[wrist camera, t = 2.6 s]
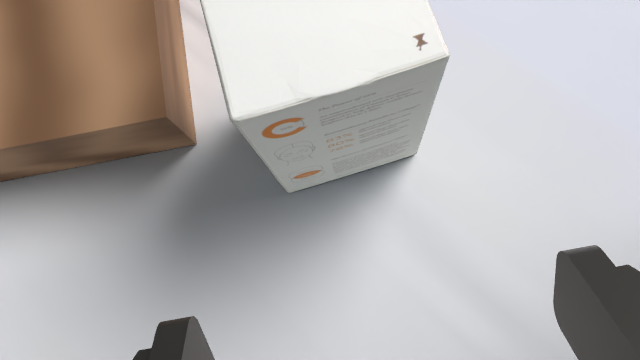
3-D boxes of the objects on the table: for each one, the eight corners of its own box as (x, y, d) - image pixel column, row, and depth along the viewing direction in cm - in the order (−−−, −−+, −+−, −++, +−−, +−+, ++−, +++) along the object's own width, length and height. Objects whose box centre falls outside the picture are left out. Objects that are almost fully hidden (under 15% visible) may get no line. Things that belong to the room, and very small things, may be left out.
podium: (173, -43, 35) (142, -97, 30) (196, 144, 32) (166, 116, 27) (-15, -4, 36) (-76, -51, 31) (-10, 183, 33) (-75, 163, 28)
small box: (385, 59, 32) (398, -95, 20) (418, 155, 31) (456, 56, 18) (257, 98, 32) (189, -29, 20) (285, 196, 31) (230, 126, 18)
